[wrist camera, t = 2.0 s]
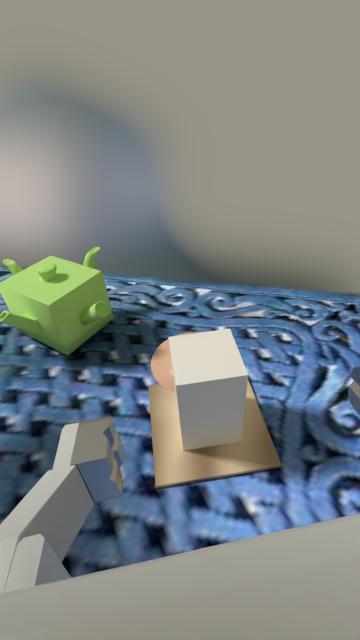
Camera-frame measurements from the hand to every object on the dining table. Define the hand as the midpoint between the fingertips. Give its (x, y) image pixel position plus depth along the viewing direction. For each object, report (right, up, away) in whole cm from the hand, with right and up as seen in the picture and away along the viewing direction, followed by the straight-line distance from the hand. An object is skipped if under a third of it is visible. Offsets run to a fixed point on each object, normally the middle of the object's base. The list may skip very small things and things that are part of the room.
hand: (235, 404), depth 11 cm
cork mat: (+1, -8, +24) cm, 26 cm away
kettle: (-19, +1, +39) cm, 43 cm away
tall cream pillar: (+1, -8, +24) cm, 25 cm away
